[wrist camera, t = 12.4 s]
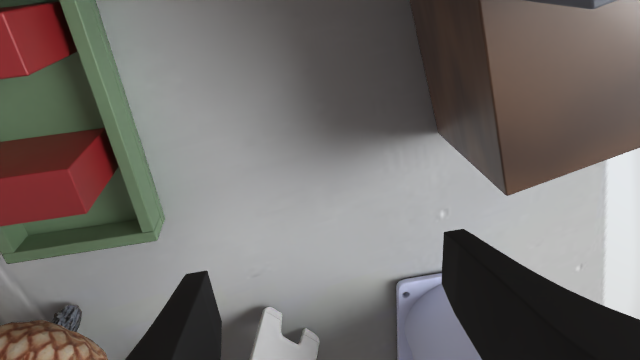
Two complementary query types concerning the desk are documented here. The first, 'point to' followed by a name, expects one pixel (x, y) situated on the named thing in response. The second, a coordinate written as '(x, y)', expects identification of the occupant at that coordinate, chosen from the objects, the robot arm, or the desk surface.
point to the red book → (53, 175)
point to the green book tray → (71, 116)
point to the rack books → (33, 38)
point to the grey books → (576, 3)
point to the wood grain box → (532, 84)
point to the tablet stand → (281, 341)
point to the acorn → (48, 339)
